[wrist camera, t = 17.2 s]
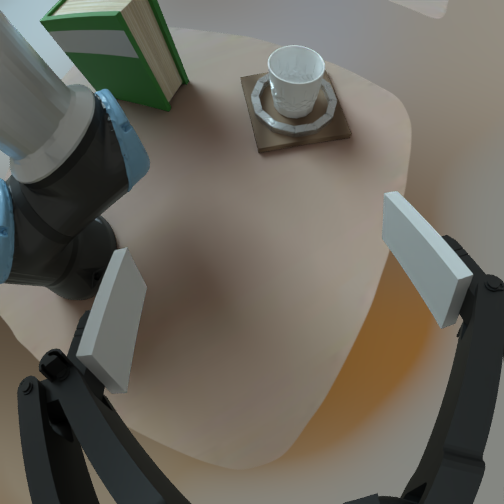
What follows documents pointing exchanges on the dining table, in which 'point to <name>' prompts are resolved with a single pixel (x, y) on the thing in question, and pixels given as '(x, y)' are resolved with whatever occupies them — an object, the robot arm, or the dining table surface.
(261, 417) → the dining table surface
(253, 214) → the dining table surface
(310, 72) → the white cup
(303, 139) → the ring holder
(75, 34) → the hardback book
